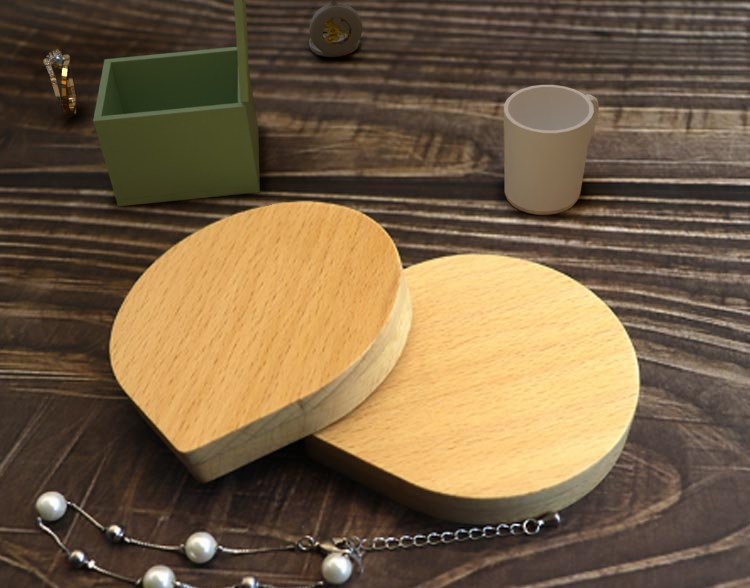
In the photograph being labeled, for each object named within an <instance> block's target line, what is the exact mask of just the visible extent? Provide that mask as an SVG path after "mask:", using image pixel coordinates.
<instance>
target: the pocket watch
mask: <svg viewBox="0 0 750 588" xmlns="http://www.w3.org/2000/svg"><path fill="white" fill-rule="evenodd" d="M330 1H331V2H330V3H328V4H325V5H323V6H321V7H320V8H319V9H318V10H317V11H315V12H314V14H313V16H312V18H311V19H310V22H309V25H308V26H309V27H308V31H309V32H308V33H309V37H310V38H309V40H308V46H309V48H310V50H311V51H312V52H313V54H316V55H318V56H320V57H326V58H338V57H342V56H347V55H349V54H352V53H353V52H355V50H357V49H358V48H359V46H360V42H361V37H362V34H363V23H362V19H361V16H360V15H359V13H358V11H356V10H355V9H354V8H353V7H352V6H350V5H348V4H345V3H342V2H336V0H330Z"/></svg>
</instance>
